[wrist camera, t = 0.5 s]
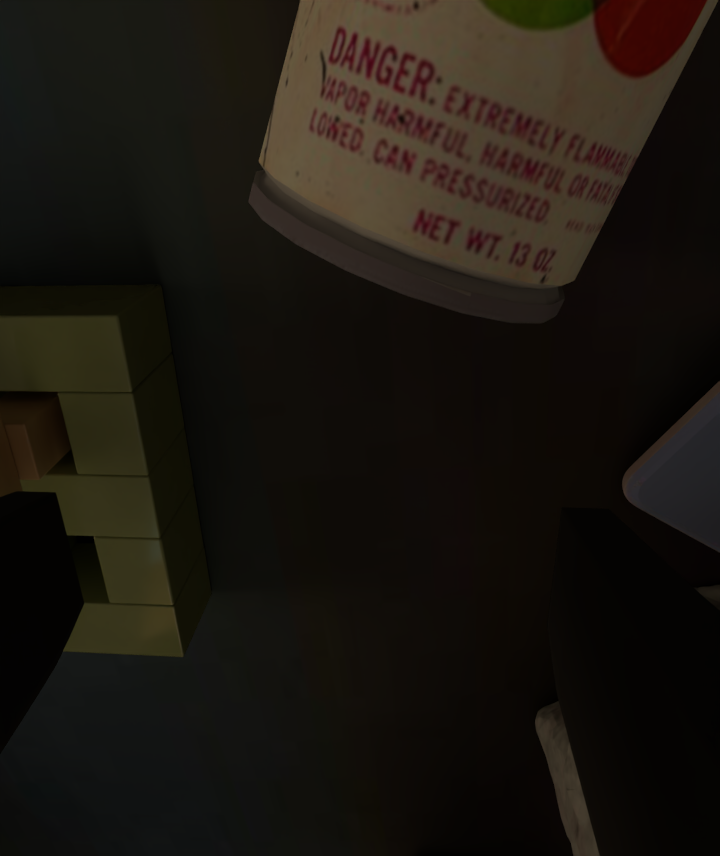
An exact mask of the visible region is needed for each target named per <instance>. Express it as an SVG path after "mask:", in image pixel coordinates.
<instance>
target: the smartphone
mask: <svg viewBox="0 0 720 856" xmlns="http://www.w3.org/2000/svg"><path fill="white" fill-rule="evenodd" d="M622 488H623V492H624V495H625V497H626V499H627V500H628V501H629V502H630V503H632V504H633V505H634V506H636V507H637V508H639V509H641V510H643V511H645V512H646V513H648V514H650V515H652V516H654V517H655V518H657V519H659V520H661V521H663V522H665V523H666V524H668V525H670V526H672V527H674V528H676V529H677V530H679V531H681V532H683V533H685V534H687V535H688V536H690V537H692V538H694V539H696V540H697V541H699V542H701V543H703V544H705V545H707V546H708V547H710V548H712V549H714V550H716V551H718V552H719V553H720V381H719V382H718V383H717V384H716V385H715V386H713V387H712V388H711V389H710V390H709V391H708V392H707V393H706V394H705V395H704V396H703V397H702V398H701V399H700V400H699V401H698V402H697V403H696V404H695V405H694V406H693V407H692V408H691V409H690V410H689V411H687V412H686V413H685V414H684V415H683V416H682V417H681V418H680V419H679V420H678V421H677V422H676V423H675V424H674V425H673V426H672V427H671V428H670V429H669V430H668V431H667V432H666V433H665V434H664V435H663V436H661V437H660V438H659V439H658V440H657V441H656V442H655V443H654V444H653V445H652V446H651V447H650V448H649V449H648V450H647V451H646V452H645V453H644V454H643V455H642V456H641V457H640V458H639V459H638V460H637V461H636V462H634V463H633V464H632V465H631V466H630V467H629V469H628V470H627V471H626V472H625V474H624V477H623V481H622Z"/></svg>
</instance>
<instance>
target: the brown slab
mask: <svg viewBox="0 0 720 856" xmlns="http://www.w3.org/2000/svg"><path fill="white" fill-rule="evenodd" d="M70 450H71V445H70V441H69V437H68V433H67V429H66V425H65V421H64V417H63V413H62V409H61V405H60V401H59V397H58V392H49V391H9V392H8V393H6V394H5V395H3V396H2V397H1V398H0V497H2V496H5V495H7V494H10V493H13V492H16V491H23V490H22V486H21V483H20V480H39V479H41V478H42V477H43V476H44V475H45V474H46V473H47V472H48V471H49V470H50V469H51V468H52V467H53V466H54V465H55V464H56V463H57V462H58V461H59V460H60V459H61V458H62V457H63V456H64V455H65V454H66V453H67V452H69V451H70Z"/></svg>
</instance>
